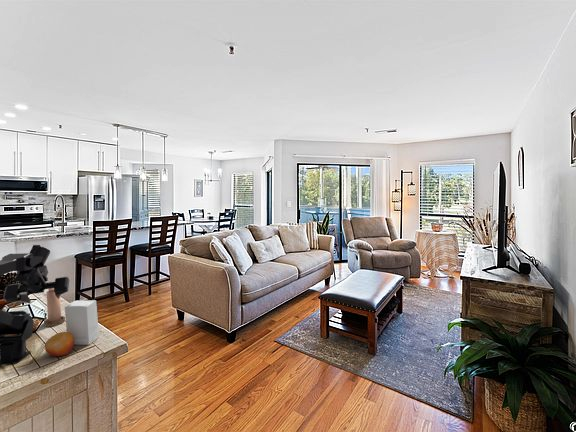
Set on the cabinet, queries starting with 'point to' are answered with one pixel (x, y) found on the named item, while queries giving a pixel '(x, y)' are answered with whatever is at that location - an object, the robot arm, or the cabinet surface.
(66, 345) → the fruit
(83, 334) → the skincare box
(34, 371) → the cabinet surface
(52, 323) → the coaster
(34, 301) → the cabinet surface
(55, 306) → the vase
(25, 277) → the robot arm
